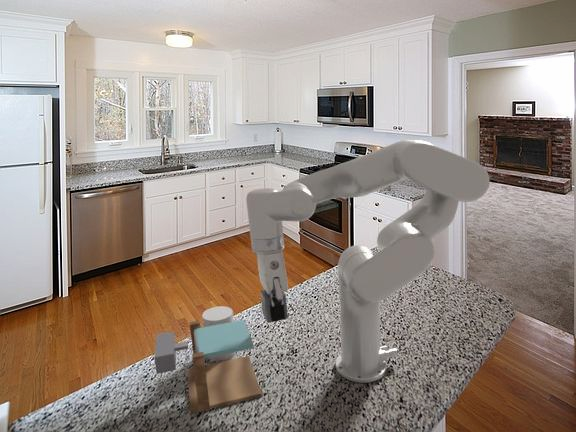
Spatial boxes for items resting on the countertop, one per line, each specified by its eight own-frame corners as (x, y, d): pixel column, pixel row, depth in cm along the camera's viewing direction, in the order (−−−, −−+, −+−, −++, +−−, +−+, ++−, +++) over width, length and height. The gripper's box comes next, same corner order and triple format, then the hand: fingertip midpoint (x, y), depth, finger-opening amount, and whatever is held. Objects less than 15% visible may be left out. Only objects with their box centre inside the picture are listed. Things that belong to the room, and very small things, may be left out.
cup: (242, 351, 105) (238, 311, 102) (218, 365, 99) (214, 323, 96) (223, 341, 110) (220, 303, 108) (200, 354, 104) (196, 314, 102)
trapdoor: (244, 329, 98) (243, 315, 97) (254, 356, 86) (253, 340, 85) (158, 346, 92) (156, 331, 91) (156, 377, 80) (154, 360, 79)
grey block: (282, 309, 94) (280, 287, 92) (287, 318, 89) (285, 295, 88) (262, 313, 92) (260, 291, 91) (267, 322, 88) (264, 299, 86)
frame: (249, 358, 101) (245, 312, 98) (261, 396, 86) (258, 344, 83) (188, 371, 97) (182, 323, 94) (190, 414, 82) (183, 359, 79)
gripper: (294, 250, 80) (301, 327, 84) (274, 231, 96) (280, 297, 100) (259, 256, 78) (268, 335, 82) (245, 236, 94) (253, 303, 98)
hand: (275, 313), depth 91 cm, fingers closed on grey block, 5 cm apart
